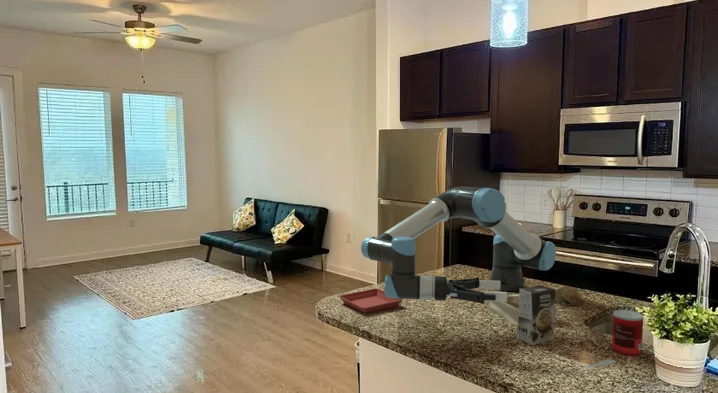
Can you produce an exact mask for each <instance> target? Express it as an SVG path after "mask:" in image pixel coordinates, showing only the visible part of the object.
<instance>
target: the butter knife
mask: <svg viewBox="0 0 718 393" xmlns="http://www.w3.org/2000/svg"><path fill="white" fill-rule="evenodd" d="M616 363H617V361H616V360H614V359H611V358H608V359H604V360H601V361H599V362H598V361H597V362H596V363H593V364H589V365H584V366H583V368H584V369H586V368H587V369H586V370H588V369H591V367H592V368H595V367H600V366H606V365H613V364H616Z"/></svg>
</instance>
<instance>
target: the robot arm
mask: <svg viewBox="0 0 718 393" xmlns="http://www.w3.org/2000/svg"><path fill="white" fill-rule="evenodd" d="M506 210H507V202H506V199H505V196H504V195H503V193H502V192H500V190H497V189H496V188H495V189H494V188H491V187H472V186H471V187H470V186H457V187H456V186H455V187H453V188H450V189H448V190H445V191H443V192H441V193H440V194H437V195H436V196H435V197H433V198H431V199H430V200H429V203H428V204H427V205H426V206H424V207H422V208H421V209H420V210H417V211H416V212H415V213H413V214H412V215H410V216H408V217H406V218H405V219H403V220H401V221H400V222H398V223H397V224H396V225H394V226H392V227H391V228H389V229H388V230H386V231H385V232H382V233H381V234H379V235H378V236H368V237H365V238H364V239H363V240H362V241H361V246H360V250H361V254H362V256H363V257H364V258H367V259H369V260H371V261H375V262H380V263H383V264H386V265H390V266H391V269H390V271H391V273H389V274H386V275H385V277H384V292H385V295H386V296H387V297H388V298H397V299H403V300H422V302H426V301H427V300H428V301H429V300H430V301H433V299H434V300H435V301H440V302H444V301H447V298H448V297H447V296H450V297H449V298H450V299H452V300H454V299H455V300H461V301H467V302H470V303H471V302H473V303H477V304H480V305H484V304H485V302H490V301H495V302H507V295H508V292H520V288H526V281H525V278H524V275H523V272H522V267H526V268H528V269H529V268H531V269H534V270H539V271H548V270H550V269H551V268H552V267H553V266H554V264H555V260H556V259H557V258H556V256H557V248H556V245H555V244H554V243H553V242H552V241H549V240H548V241H546V240H543V239H542V238H541V237H540V236H539V235H537V234H535V233H532V232H529V231H528V230H527V229H525V228H524V227H523V226H522V225H521V224H520V223H519V222H518V221H517V220H516V219H515V218H514V217H512V215H510V214H509V213H508V212H507V211H506ZM455 218H457V219H458V218H460V219H468V220H473V221H474V222H476V223H477V224H478V225H479V226H480V227H481V228H484V229H490V230H492V232H493V233H495V234H496V235H494V236H493V244H492V247H493V248H492V260H493V261H492V269H491V273H490V276H489V279H488V280H487V279H486V280H484V279H480V277H479V276H477V277H472V278H461V279H447V276H443V275H441V276H440V275H436V276H433V275H417V274H416V254H417V253H416V252H417V250H416V241H415V239H417V237H419V236H421V235H422V234H424V233H425V232H427V231H428V230H430V229H431V228H432V227H434V226H435V225H437V224H439V223H440V222H442V223H444V222H447V221H448V220H450V219H455ZM478 288H479V290H487V291H483V292H482V291H479V290H474V289H478ZM488 290H497V291H488ZM502 291H503V292H502Z"/></svg>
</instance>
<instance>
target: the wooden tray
mask: <svg viewBox="0 0 718 393" xmlns="http://www.w3.org/2000/svg"><path fill="white" fill-rule="evenodd" d="M519 294H520V293H519ZM519 294H517V293H515V294H509V295H508V294H507V302H495V301H489V311H490V312H491V313H493V314H495V315H497V316H499V317H501V318H503V319H504V320H507V321H508V322H511V323H513V324H514V325H517V326H518V321H519ZM554 322H557V306H556V305H555V310H554Z"/></svg>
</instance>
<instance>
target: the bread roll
mask: <svg viewBox="0 0 718 393" xmlns="http://www.w3.org/2000/svg"><path fill="white" fill-rule="evenodd" d="M555 303H556V304H559V305H563V306H579V305H581V303H582V295H581V293H580V292H579V291H578V290H577V289H576V288H574V287H572V286H569V285H566V286H561V287H559V288H556V289H555Z"/></svg>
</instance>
